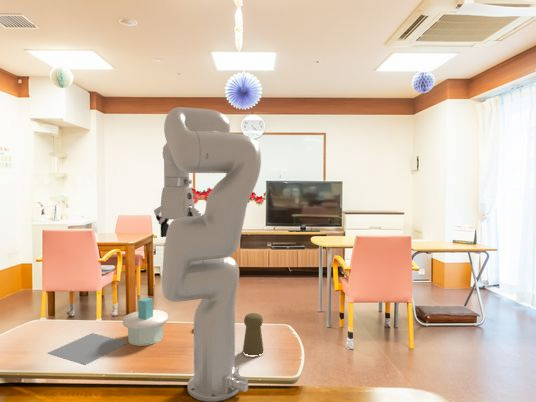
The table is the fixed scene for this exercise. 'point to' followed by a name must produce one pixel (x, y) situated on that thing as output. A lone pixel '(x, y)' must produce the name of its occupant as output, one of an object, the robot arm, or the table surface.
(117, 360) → the table surface
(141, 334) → the bowl
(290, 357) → the table surface
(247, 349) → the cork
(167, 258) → the robot arm
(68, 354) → the mat
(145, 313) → the lid
